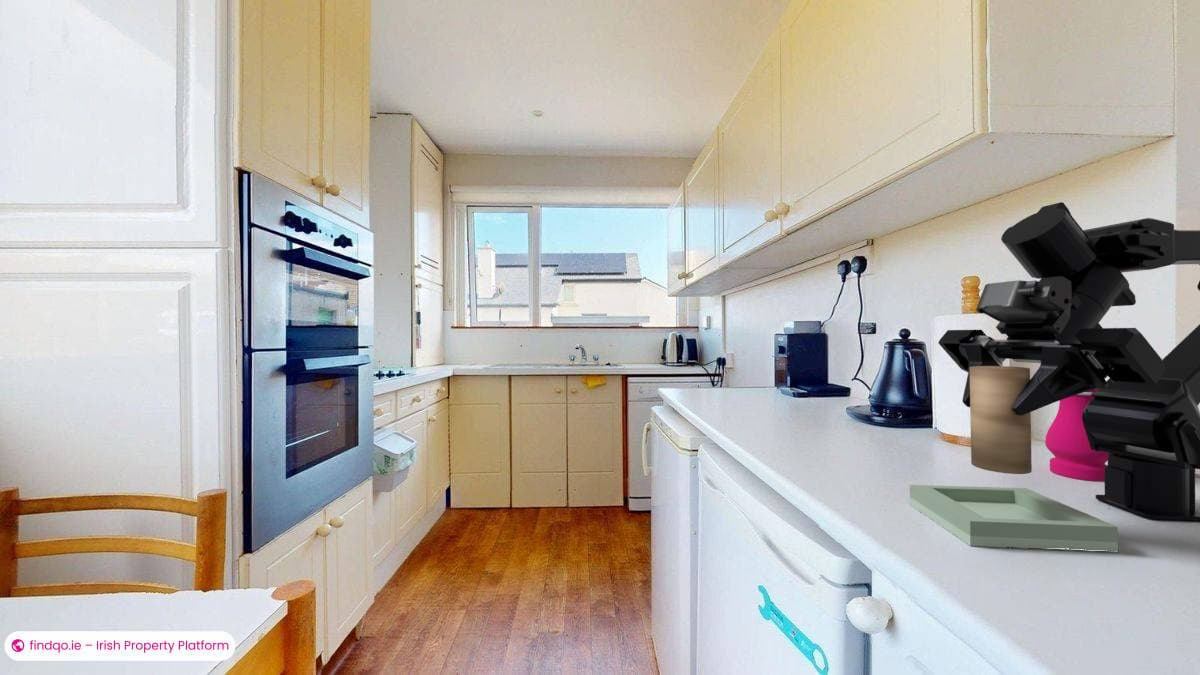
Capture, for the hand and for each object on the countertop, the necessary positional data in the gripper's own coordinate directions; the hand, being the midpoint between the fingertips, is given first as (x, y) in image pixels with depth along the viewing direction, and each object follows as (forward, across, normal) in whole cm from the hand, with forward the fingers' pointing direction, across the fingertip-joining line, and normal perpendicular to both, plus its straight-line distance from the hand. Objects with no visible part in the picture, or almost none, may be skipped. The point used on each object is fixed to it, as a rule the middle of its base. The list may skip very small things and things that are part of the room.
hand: (989, 408), depth 50 cm
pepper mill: (-12, -12, +31) cm, 36 cm away
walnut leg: (+4, 0, +6) cm, 7 cm away
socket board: (+8, 0, +10) cm, 13 cm away
